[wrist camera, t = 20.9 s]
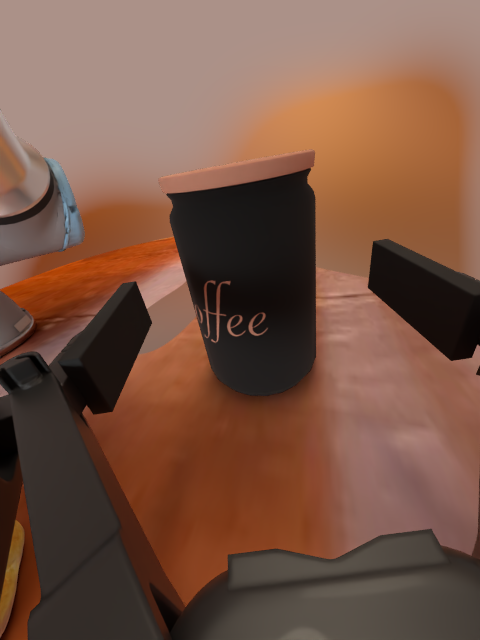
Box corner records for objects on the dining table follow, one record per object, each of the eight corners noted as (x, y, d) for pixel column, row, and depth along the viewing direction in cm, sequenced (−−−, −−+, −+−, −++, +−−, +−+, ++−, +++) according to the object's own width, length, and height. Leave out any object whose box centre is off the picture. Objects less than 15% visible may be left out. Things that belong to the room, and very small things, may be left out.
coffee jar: (195, 362, 29) (137, 181, 20) (267, 321, 34) (248, 159, 24) (255, 424, 21) (205, 171, 12) (339, 360, 26) (351, 142, 16)
